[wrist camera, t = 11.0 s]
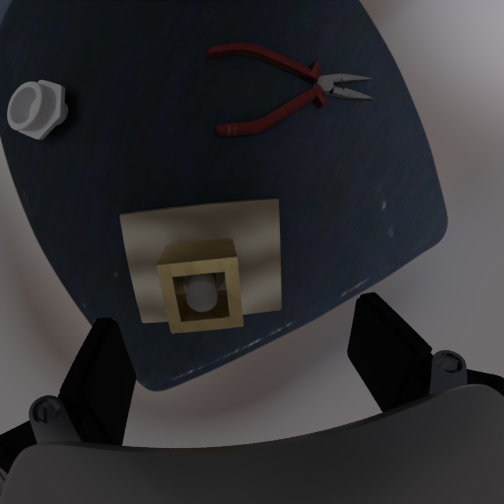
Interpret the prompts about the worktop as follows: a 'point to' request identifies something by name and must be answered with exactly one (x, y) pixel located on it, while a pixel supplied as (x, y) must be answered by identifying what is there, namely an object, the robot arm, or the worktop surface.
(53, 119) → the pipe fitting
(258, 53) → the pliers
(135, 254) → the post stand
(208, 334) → the worktop surface
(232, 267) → the hollow wooden cube
